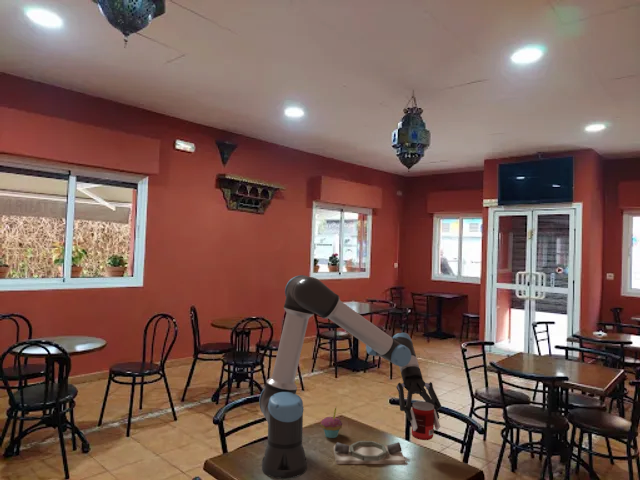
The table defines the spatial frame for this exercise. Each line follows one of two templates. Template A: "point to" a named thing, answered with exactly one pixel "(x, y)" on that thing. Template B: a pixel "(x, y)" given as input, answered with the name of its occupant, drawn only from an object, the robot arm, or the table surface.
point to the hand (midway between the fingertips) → (426, 428)
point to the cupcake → (331, 426)
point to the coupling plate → (368, 453)
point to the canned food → (423, 420)
